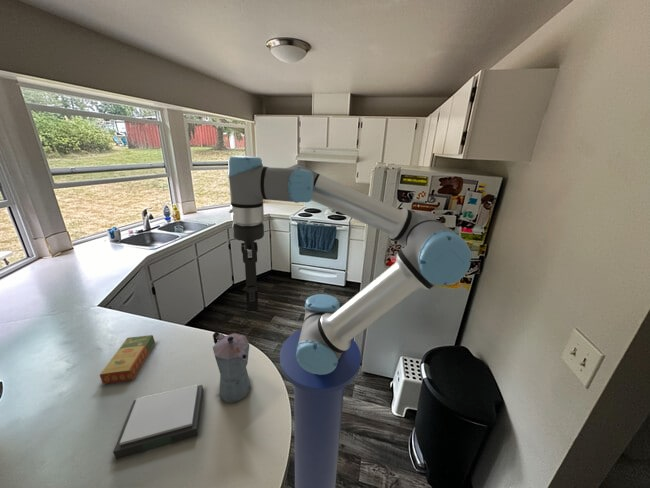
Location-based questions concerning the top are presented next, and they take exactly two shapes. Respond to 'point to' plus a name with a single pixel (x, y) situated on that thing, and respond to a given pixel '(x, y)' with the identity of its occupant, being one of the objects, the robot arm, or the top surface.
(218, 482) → the top surface
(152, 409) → the kitchen scale
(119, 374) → the carton
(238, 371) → the moka pot
